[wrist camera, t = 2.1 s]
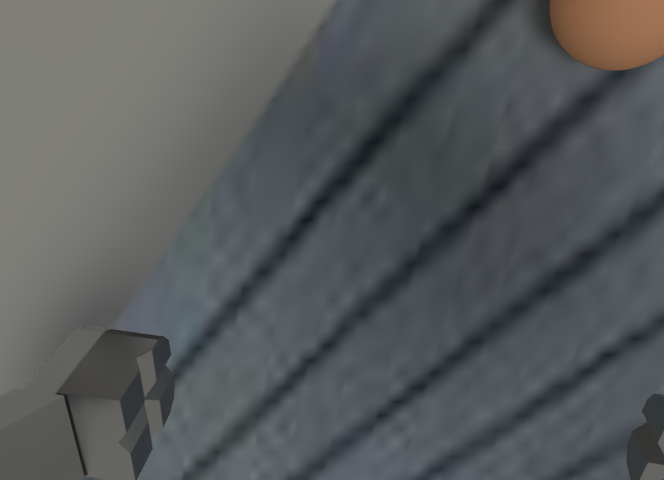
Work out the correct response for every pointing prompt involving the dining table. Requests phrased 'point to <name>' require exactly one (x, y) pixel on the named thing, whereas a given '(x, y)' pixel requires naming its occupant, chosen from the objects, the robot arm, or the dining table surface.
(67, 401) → the robot arm
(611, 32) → the ball
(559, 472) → the dining table surface
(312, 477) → the dining table surface
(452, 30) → the dining table surface
